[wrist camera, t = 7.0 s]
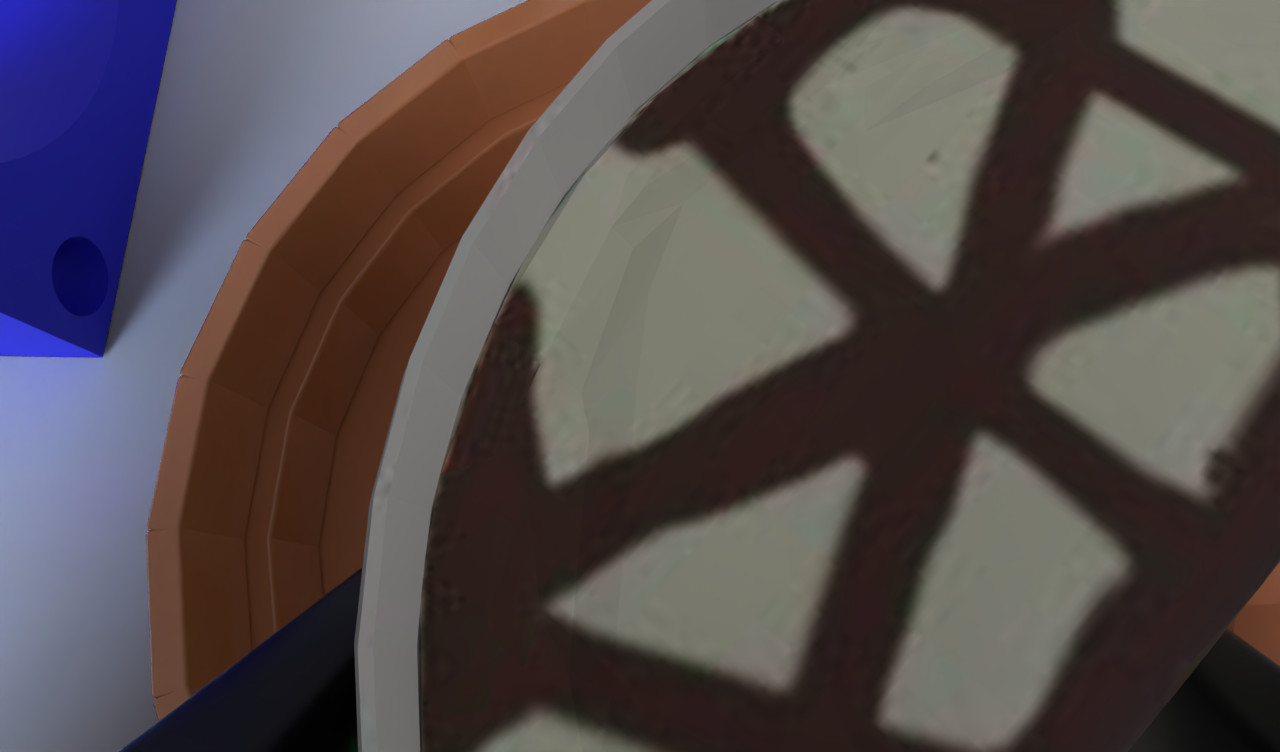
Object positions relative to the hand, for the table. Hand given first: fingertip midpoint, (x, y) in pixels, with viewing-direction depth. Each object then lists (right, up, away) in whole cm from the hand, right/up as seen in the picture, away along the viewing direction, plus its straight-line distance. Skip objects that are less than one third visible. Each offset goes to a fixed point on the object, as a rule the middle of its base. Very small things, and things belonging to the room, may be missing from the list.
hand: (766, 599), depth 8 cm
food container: (+1, 0, +7) cm, 7 cm away
